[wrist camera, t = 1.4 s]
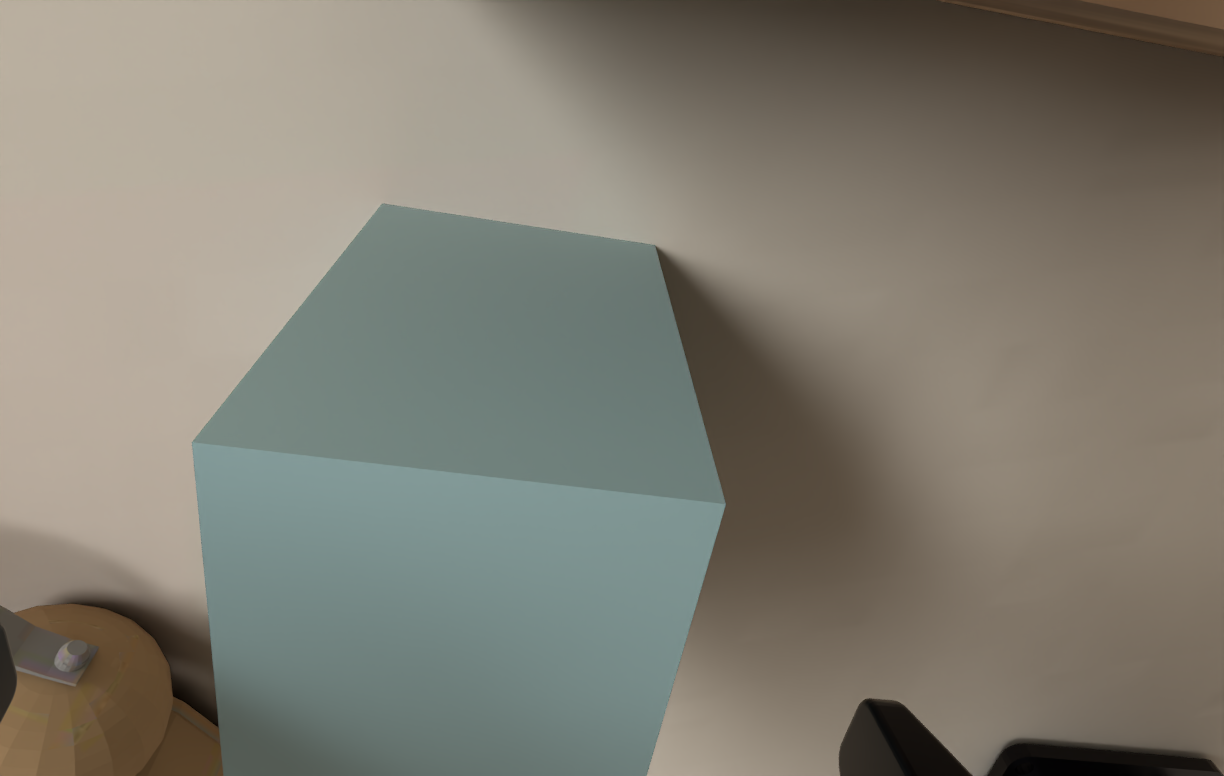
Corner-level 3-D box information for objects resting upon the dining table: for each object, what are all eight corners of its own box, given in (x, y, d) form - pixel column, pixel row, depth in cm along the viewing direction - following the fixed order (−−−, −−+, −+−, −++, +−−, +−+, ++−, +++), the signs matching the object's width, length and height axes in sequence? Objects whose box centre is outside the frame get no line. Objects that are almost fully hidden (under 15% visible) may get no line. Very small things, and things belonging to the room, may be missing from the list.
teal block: (654, 245, 15) (726, 504, 8) (610, 465, 17) (633, 818, 10) (382, 203, 14) (191, 442, 7) (374, 437, 17) (224, 790, 9)
